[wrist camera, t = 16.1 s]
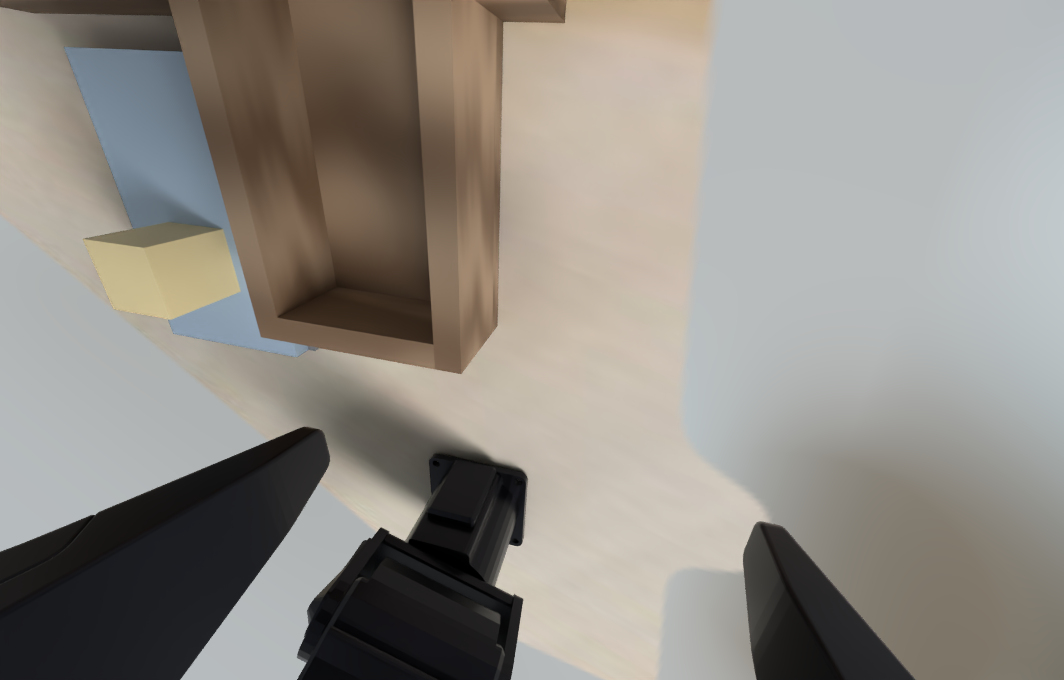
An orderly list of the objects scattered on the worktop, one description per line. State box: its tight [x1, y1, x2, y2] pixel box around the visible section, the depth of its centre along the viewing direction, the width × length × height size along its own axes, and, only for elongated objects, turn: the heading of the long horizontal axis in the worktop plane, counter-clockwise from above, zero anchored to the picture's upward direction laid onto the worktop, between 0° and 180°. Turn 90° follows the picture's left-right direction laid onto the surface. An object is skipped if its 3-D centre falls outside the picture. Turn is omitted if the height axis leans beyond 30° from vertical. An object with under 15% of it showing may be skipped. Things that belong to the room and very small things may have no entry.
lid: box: [64, 47, 309, 357], centre depth 21 cm, size 15×9×5 cm, turn 177°
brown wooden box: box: [0, 0, 566, 374], centre depth 17 cm, size 17×26×7 cm, turn 87°
